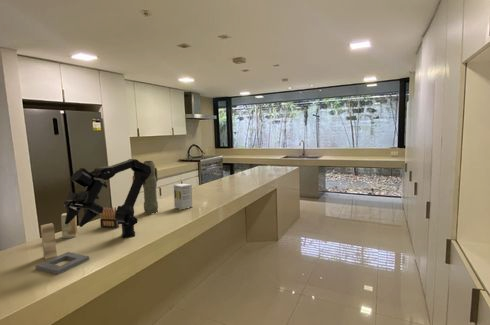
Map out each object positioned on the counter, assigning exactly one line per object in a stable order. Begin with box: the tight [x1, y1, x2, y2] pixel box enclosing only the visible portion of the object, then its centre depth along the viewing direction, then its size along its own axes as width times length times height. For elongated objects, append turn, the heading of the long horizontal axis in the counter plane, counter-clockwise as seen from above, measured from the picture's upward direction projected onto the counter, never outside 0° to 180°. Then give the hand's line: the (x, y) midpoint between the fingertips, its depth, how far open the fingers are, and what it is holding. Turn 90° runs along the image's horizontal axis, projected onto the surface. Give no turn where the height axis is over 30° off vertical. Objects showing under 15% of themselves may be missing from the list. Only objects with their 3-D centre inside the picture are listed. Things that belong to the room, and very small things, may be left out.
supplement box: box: [173, 183, 193, 210], centre depth 193 cm, size 10×9×17 cm
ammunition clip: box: [99, 206, 120, 229], centre depth 154 cm, size 11×2×12 cm, turn 78°
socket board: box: [35, 251, 90, 276], centre depth 109 cm, size 13×13×2 cm
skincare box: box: [60, 212, 78, 239], centre depth 140 cm, size 6×4×12 cm
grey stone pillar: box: [142, 160, 159, 215], centre depth 182 cm, size 9×12×35 cm
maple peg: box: [40, 222, 58, 261], centre depth 116 cm, size 4×4×14 cm
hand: (72, 225), depth 114 cm, fingers open, 9 cm apart
